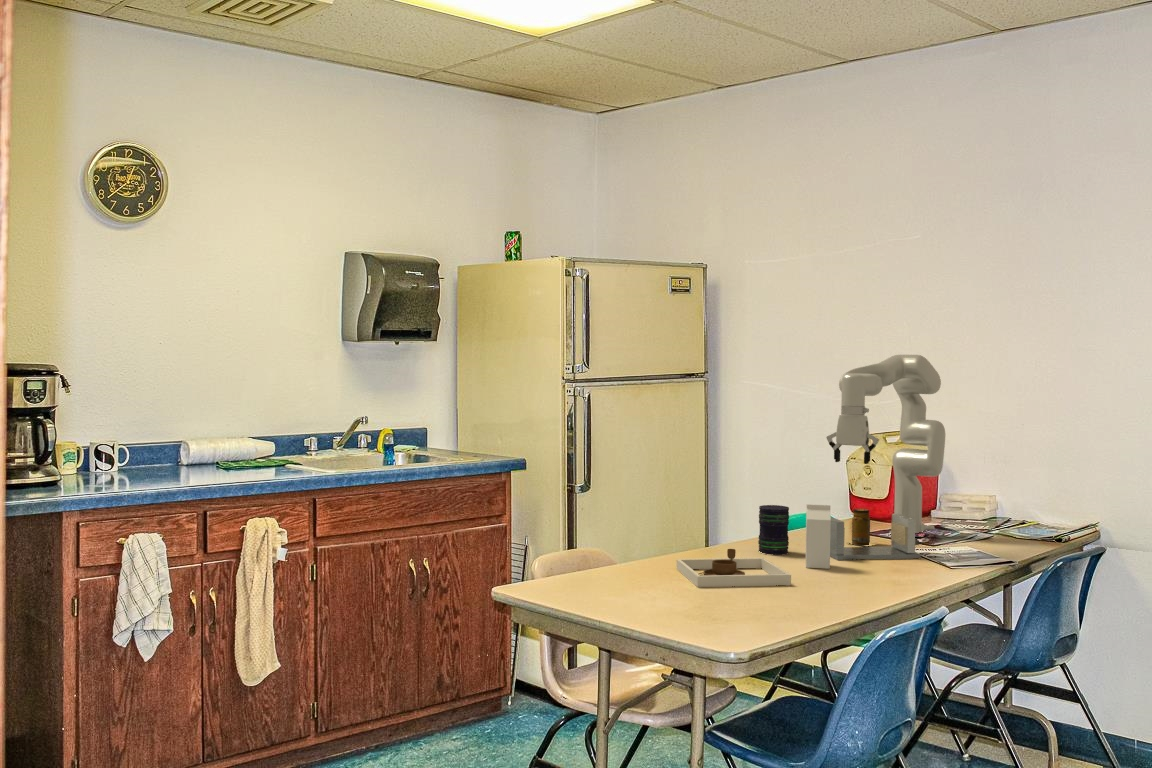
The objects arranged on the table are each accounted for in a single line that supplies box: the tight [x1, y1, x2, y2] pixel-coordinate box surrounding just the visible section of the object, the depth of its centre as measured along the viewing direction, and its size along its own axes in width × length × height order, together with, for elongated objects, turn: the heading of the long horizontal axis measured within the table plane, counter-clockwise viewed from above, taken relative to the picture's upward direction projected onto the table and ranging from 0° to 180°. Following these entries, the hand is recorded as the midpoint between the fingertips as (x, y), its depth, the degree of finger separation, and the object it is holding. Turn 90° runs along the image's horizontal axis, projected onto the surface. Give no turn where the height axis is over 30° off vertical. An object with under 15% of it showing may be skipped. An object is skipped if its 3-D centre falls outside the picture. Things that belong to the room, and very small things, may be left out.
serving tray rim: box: [676, 557, 792, 588], centre depth 308 cm, size 27×25×3 cm
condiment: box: [846, 508, 871, 547], centre depth 365 cm, size 7×8×12 cm
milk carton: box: [805, 504, 832, 570], centre depth 325 cm, size 7×7×19 cm
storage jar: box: [757, 504, 790, 556], centre depth 348 cm, size 10×10×15 cm
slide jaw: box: [890, 513, 920, 553], centre depth 346 cm, size 7×12×11 cm, turn 8°
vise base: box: [830, 516, 922, 561], centre depth 344 cm, size 28×14×12 cm, turn 98°
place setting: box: [697, 548, 746, 576], centre depth 308 cm, size 18×20×6 cm
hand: (851, 462), depth 352 cm, fingers open, 9 cm apart
